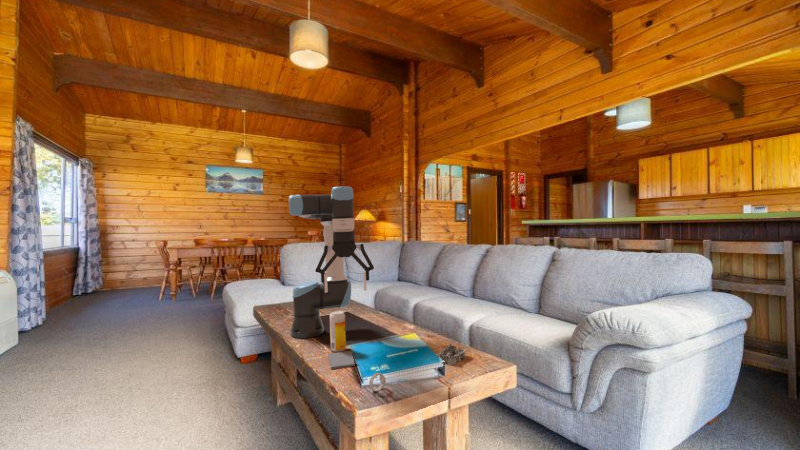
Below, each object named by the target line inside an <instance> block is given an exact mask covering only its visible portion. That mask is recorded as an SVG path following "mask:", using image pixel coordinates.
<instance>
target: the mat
mask: <svg viewBox="0 0 800 450" xmlns="http://www.w3.org/2000/svg"><path fill="white" fill-rule="evenodd" d="M351 351H352V350H348V351H347V350H346V351H340V352H332V353H327V355H328V356H327V358H328V361H329V366H330V369H331V370H336V369H343V368H349V367H356V366H355V363H354V359H353V356H354V355H353V356H352V353H353V351H352V352H351Z"/></svg>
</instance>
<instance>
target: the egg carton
mask: <svg viewBox="0 0 800 450" xmlns="http://www.w3.org/2000/svg"><path fill="white" fill-rule="evenodd" d="M465 351H466V349H464V348H460V347H459V348H458V349H457V347H456V346H455V345H453V344H452V343H449V344H447V345H446V347H445V348H443V350H441V351H440V352H439V353H438V354H437V355H438V356H437V357H438V358H439V357H440V358H441V359H442V360H444V361H445V362H444V363H446V364H447V365H449V366H451V365H457V362H461V361H462V359H465V358H466V352H465ZM453 354H454V355H453Z"/></svg>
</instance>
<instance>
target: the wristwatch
mask: <svg viewBox="0 0 800 450" xmlns="http://www.w3.org/2000/svg"><path fill="white" fill-rule="evenodd" d="M377 377H378V379H379V381H380V384H379V386H378V387H376V388H374V381H375V379H376V378H377ZM386 382H387V381H386V377H385V376H384V375H383V374H382V373H380V372H375V373H374V374H373V375H372V376H371V377H370V378H369V383H368V384H369V388H370V390H372V391H373V392H380V391H381V390H382V389H383V388H384V385H385V384H386Z"/></svg>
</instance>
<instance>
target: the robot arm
mask: <svg viewBox="0 0 800 450" xmlns="http://www.w3.org/2000/svg"><path fill="white" fill-rule="evenodd" d="M354 196H355V195H354V189H353V188H352V186H346V185H345V186H341V185H340V186H334V187H332V188H331V194H327V193H325V194H291V195H289V196H288V212H289V213H288V214H289V215H290V216H298V217H300V218H303V219H308V220H320V221H319V222H320V224H321V226H323V231H324V232H323V235H324V236H323V237H324V247H323V253H322V255H321V257H320V260H319V261H318V264H317V266H316V268H315V272H316V273H319V274H320V277H321V278H320V282H321V284H320V283H319V281H318V280H317V281H316V280H315V281H307V282H303V283H299V284H296V285H295V286H294V287H293V288H292V301H293V302H292V303H293V304H292V305H293V319H292V323H291V327H290V330H289V331H290V332H289V333H290V336H291V337H292V338H295V339H307V338H313V337H318V336H320V335H322V334H324V332H325V327H324V323H323V320H322V318H321V314H320V310H327V309H340V308H346V307H348V306H349V305H350V303H351V298H352V283H351V282H350V281H348V278H347V276H345V265H344V258H350V257H352V258H353V259H354V260H355V261H356V262H357V263H358V264H359V266H361V268H363V291H367V281H368V282H369V281H370V271H373V270H374V268H375V267H374V264H373V262H372V261H371V258H370V257H369V256H368V255H369V254H368V253H367V251H366V250H365V245H364V243H360V244H356V237H355V235H356V234H355V231H354V230H355V214H354V207H355V206H354V198H355V197H354ZM357 249H358V251H361V254H362V256H363V258H364V259H365V261H366V263H367V265H368V266H367V265H366V263H364V261H363V260H362V259H361V258H360V257H359V256H358V255H357V253H355V251H356V250H357ZM324 261H325V265H324V267H322V265H323V264H324Z"/></svg>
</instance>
